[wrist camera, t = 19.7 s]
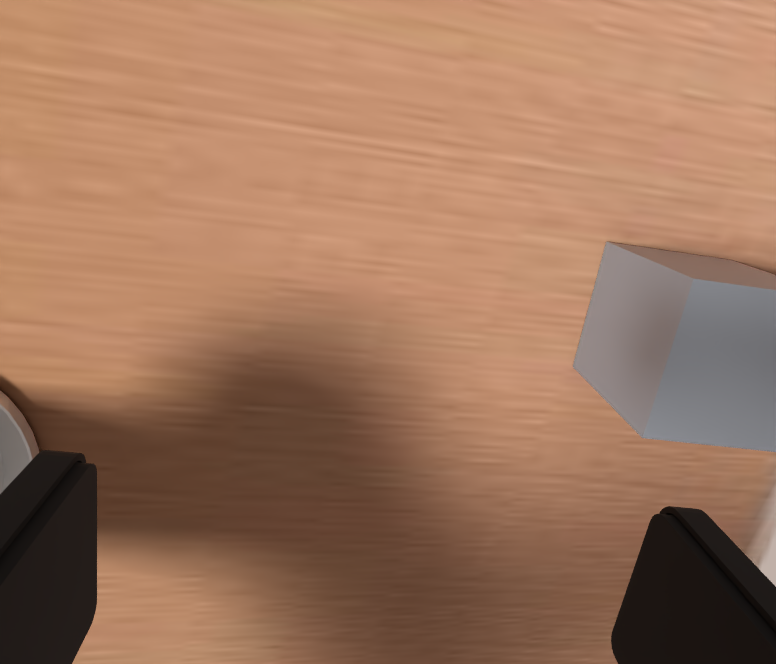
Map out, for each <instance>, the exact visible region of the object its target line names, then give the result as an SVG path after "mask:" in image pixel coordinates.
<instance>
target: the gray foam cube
mask: <svg viewBox="0 0 776 664" xmlns="http://www.w3.org/2000/svg"><path fill="white" fill-rule="evenodd" d="M573 367H574V369H575V370H576V371H577V372H578V373H579V374H580V375H581V376H582V377H583V378H584V379H585V380H586V381H587V382H588V383H589V384H590V385H591V386H592V387H593V388H594V389H595V390H596V391H597V392H598V393H599V394H600V395H601V396H602V397H603V398H604V399H605V400H606V401H607V402H608V403H609V404H610V405H611V406H612V407H613V408H614V409H615V410H616V412H617V413H618V414H619V415H620V416H621V417H622V418H623V419H624V420H625V421H626V422H627V423H628V424H629V425H630V426H631V427H632V428H633V429H634V430H635V431H636V432H637V433H638V434H639V435H640V436H641V437H642V438H647V439H657V440H666V441H676V442H685V443H695V444H704V445H714V446H723V447H733V448H742V449H752V450H761V451H771V452H776V275H774V274H771V273H768V272H765V271H763V270H760V269H757V268H754V267H751V266H748V265H745V264H742V263H739V262H736V261H733V260H728V259H722V258H715V257H708V256H701V255H694V254H687V253H681V252H674V251H667V250H660V249H653V248H647V247H640V246H633V245H626V244H619V243H613V242H606V245H605V249H604V253H603V256H602V260H601V264H600V267H599V271H598V275H597V278H596V282H595V286H594V290H593V293H592V297H591V301H590V304H589V308H588V312H587V316H586V319H585V323H584V327H583V330H582V334H581V338H580V342H579V345H578V349H577V353H576V356H575V360H574V364H573Z"/></svg>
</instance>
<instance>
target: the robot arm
mask: <svg viewBox="0 0 776 664" xmlns="http://www.w3.org/2000/svg"><path fill="white" fill-rule="evenodd" d="M96 604H97V469H96V466H95V465H94V464H89V463H86V460H85V457H84V455H83V454H82V453H73V452H62V451H50V450H42V451H41V452H39V449H38V446H37V443H36V440H35V437H34V434H33V431H32V430H31V428H30V426H29V424H28V423H27V421H26V419H25V417H24V416H23V414H22V413H21V412H20V411H19V409H18V408H17V407H16V406H15V405H14V403H13V402H12V401H11V400H10V399H9V398H8V397H7V396H6V395H5V394H4V393H3V392H1V391H0V664H72V662H73V660H74V658H75V656H76V654H77V652H78V650H79V648H80V646H81V644H82V642H83V640H84V638H85V636H86V634H87V632H88V630H89V628H90V626H91V624H92V621H93V618H94V614H95V610H96ZM611 643H612V650H613V653H614V656H615V658H616V660H617V662H618V664H776V587H775V586H774V585H773V584H772V582H771V581H770V580H769V579H768V578H767V577H766V576H765V575H764V574H763V573H762V572H761V571H760V570H759V569H758V568H757V567H756V566H755V565H754V564H753V562H752V561H751V560H750V559H749V558H748V557H747V556H746V555H745V554H744V553H743V552H742V551H741V550H740V549H739V548H738V547H737V546H736V545H735V544H734V542H733V541H732V540H731V539H730V538H729V537H728V536H727V535H726V534H725V533H724V532H723V531H722V530H721V529H720V528H719V527H718V526H717V525H716V524H715V522H714V521H713V520H712V519H711V518H710V517H709V516H708V515H707V514H706V513H705V512H703V511H702V510H699V509H692V508H681V507H670V506H668V507H665V508H663V509H662V510H661V511H660V513H659V514H656V515H654V516H653V517H652V519H651V521H650V523H649V526H648V529H647V532H646V535H645V538H644V541H643V544H642V547H641V550H640V552H639V555H638V558H637V561H636V564H635V567H634V570H633V573H632V576H631V579H630V582H629V585H628V587H627V590H626V593H625V596H624V599H623V602H622V605H621V608H620V611H619V614H618V617H617V620H616V622H615V625H614V628H613V631H612V636H611Z"/></svg>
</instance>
